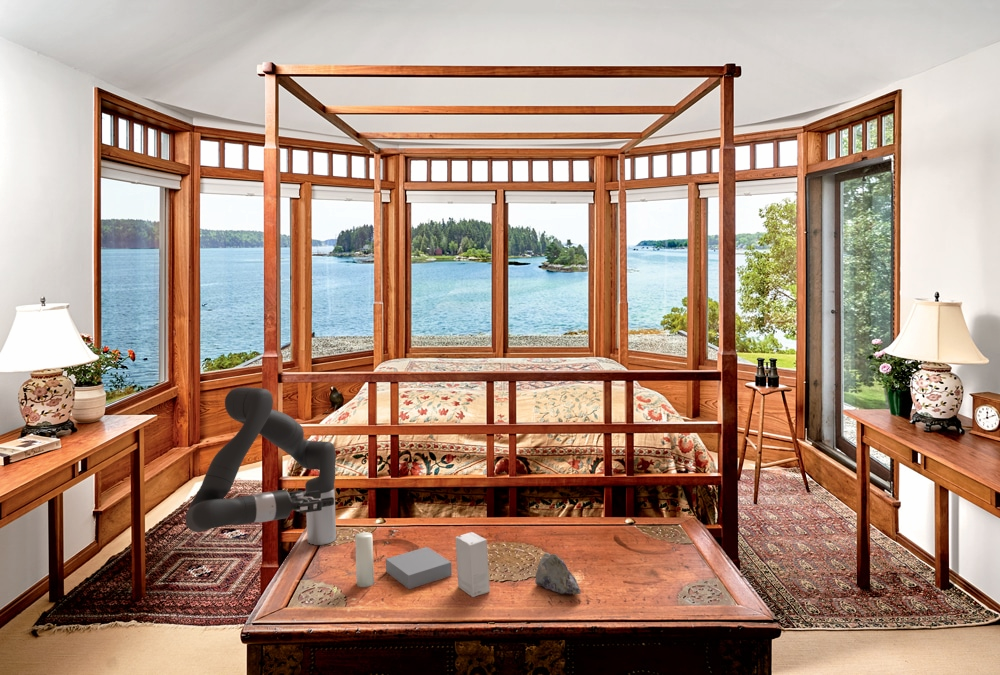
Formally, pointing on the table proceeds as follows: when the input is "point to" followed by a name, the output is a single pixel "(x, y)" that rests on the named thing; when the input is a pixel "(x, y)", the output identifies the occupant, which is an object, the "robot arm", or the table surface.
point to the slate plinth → (418, 567)
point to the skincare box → (472, 564)
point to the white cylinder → (364, 559)
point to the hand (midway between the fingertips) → (326, 497)
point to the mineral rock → (555, 575)
